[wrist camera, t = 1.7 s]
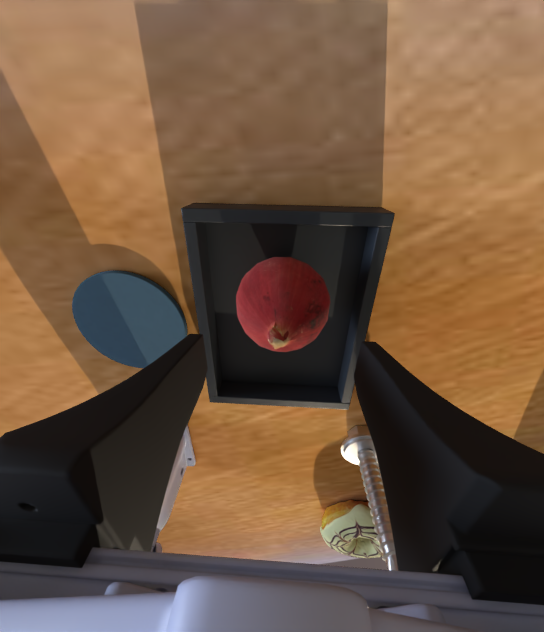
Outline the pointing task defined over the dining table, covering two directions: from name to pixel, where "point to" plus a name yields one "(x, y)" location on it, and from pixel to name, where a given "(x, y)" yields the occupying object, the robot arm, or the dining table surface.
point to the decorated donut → (350, 529)
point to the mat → (128, 317)
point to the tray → (304, 245)
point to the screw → (371, 487)
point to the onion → (282, 304)
